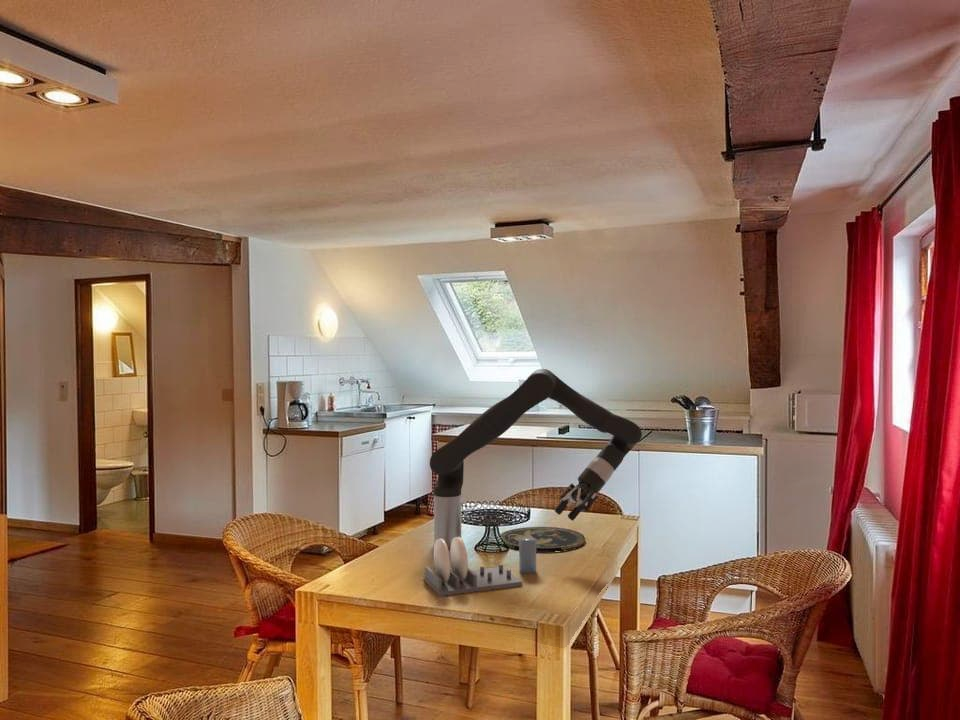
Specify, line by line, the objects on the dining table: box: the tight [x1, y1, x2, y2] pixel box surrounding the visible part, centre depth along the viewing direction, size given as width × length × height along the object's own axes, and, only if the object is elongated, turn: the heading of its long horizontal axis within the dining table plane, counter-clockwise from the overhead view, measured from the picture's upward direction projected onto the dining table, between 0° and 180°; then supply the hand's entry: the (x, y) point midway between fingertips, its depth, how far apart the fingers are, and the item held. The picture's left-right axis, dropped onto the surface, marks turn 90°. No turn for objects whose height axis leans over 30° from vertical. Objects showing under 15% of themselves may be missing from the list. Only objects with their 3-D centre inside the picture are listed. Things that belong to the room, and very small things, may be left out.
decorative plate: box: [499, 526, 586, 553], centre depth 247 cm, size 30×2×30 cm
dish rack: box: [423, 537, 523, 597], centre depth 202 cm, size 15×24×13 cm, turn 111°
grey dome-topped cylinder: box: [518, 537, 537, 575], centre depth 212 cm, size 5×5×10 cm
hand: (563, 515), depth 216 cm, fingers open, 8 cm apart
